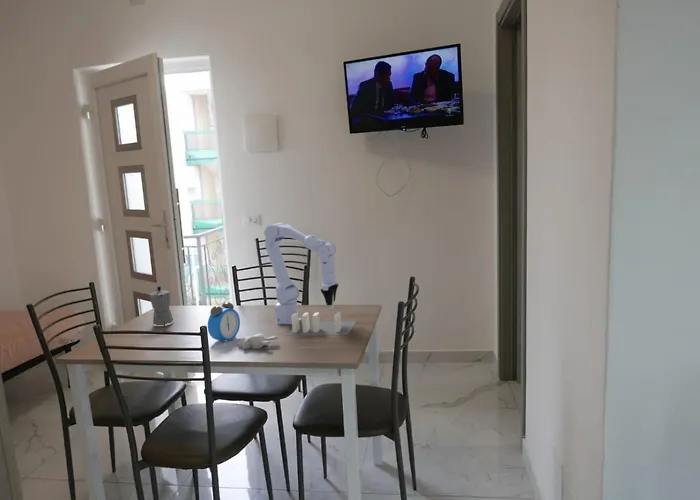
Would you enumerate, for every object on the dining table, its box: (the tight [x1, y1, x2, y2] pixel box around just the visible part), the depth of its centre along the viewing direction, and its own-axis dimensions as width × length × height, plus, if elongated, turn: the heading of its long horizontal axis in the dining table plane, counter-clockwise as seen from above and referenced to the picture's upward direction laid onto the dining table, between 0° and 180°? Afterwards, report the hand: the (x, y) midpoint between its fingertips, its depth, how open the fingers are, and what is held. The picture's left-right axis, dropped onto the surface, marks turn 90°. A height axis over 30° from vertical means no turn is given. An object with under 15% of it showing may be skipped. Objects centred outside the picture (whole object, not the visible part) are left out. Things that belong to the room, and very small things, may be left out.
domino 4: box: [327, 294, 335, 311], centre depth 231 cm, size 2×5×7 cm, turn 169°
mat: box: [284, 320, 357, 337], centre depth 229 cm, size 26×19×1 cm
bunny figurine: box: [236, 333, 279, 350], centre depth 211 cm, size 10×5×15 cm
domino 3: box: [312, 311, 321, 332], centre depth 225 cm, size 2×5×7 cm, turn 168°
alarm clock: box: [207, 301, 241, 343], centre depth 222 cm, size 13×6×15 cm, turn 151°
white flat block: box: [333, 311, 342, 332], centre depth 223 cm, size 2×5×7 cm, turn 168°
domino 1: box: [291, 312, 300, 333], centre depth 227 cm, size 2×5×7 cm, turn 169°
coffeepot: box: [148, 286, 174, 325], centre depth 254 cm, size 15×9×18 cm, turn 26°
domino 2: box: [301, 312, 311, 333], centre depth 226 cm, size 2×5×7 cm, turn 168°
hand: (330, 303), depth 231 cm, fingers closed on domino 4, 5 cm apart
